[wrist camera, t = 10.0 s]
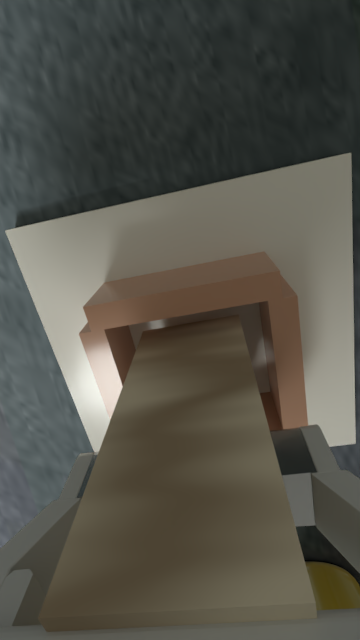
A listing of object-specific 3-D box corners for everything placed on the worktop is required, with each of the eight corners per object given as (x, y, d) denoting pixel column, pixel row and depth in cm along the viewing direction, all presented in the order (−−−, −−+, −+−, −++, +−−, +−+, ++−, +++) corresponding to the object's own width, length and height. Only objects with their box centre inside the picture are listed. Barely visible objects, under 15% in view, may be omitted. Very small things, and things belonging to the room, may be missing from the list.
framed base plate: (342, 153, 13) (394, 146, 10) (349, 432, 18) (384, 493, 15) (14, 227, 15) (-42, 244, 12) (106, 462, 20) (86, 521, 17)
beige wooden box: (238, 314, 14) (315, 602, 4) (251, 395, 15) (328, 735, 6) (143, 330, 14) (38, 619, 5) (164, 407, 16) (114, 736, 7)
